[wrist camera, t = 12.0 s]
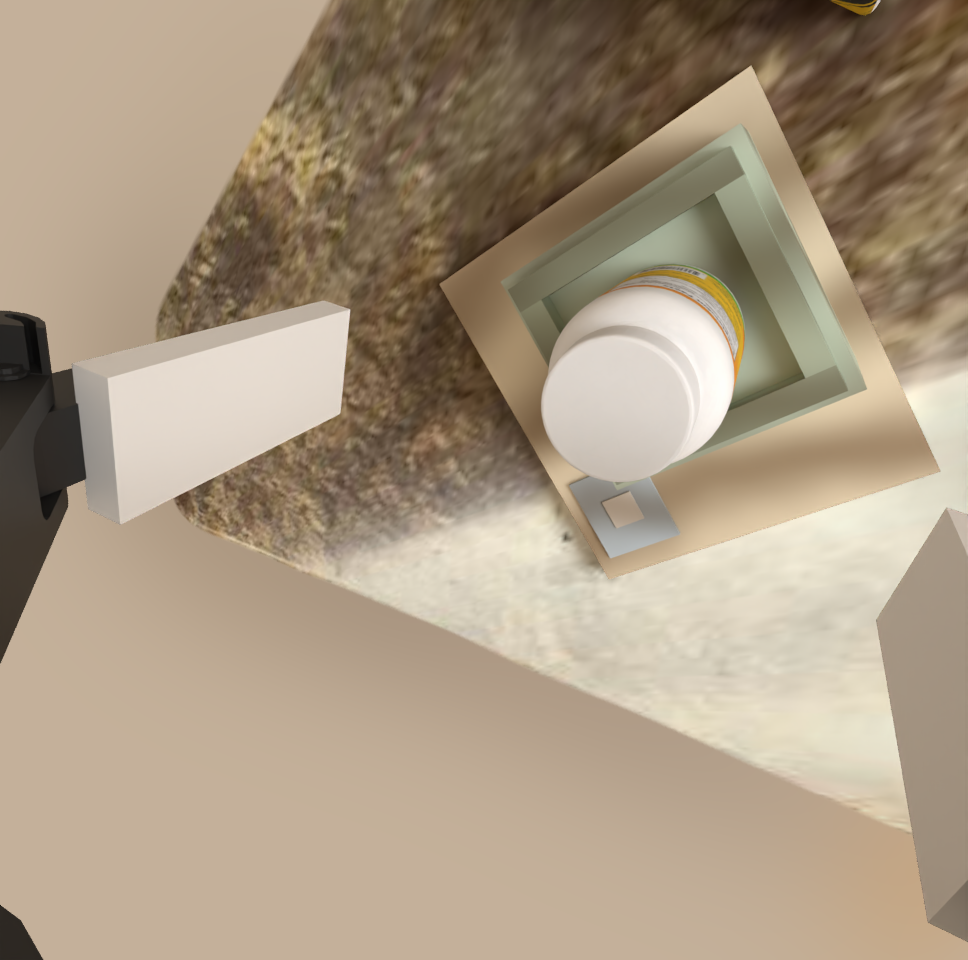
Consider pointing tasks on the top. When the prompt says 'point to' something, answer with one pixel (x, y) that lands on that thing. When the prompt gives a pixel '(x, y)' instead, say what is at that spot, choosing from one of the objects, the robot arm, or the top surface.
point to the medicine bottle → (858, 5)
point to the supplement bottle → (644, 373)
